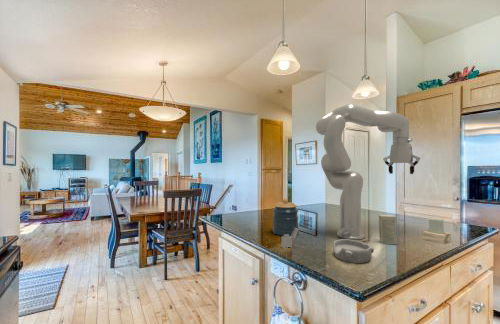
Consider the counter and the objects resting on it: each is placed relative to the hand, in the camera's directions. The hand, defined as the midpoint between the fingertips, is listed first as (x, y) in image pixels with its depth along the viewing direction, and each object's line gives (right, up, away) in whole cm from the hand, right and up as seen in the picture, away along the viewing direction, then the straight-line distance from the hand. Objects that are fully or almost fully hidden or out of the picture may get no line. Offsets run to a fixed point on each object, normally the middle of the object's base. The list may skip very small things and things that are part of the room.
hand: (401, 173), depth 133 cm
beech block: (+6, -30, -18) cm, 36 cm away
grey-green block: (+6, -26, -17) cm, 32 cm away
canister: (-62, -30, -6) cm, 70 cm away
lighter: (-64, -30, -28) cm, 76 cm away
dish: (-42, -30, -39) cm, 65 cm away
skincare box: (-19, -30, -21) cm, 41 cm away
